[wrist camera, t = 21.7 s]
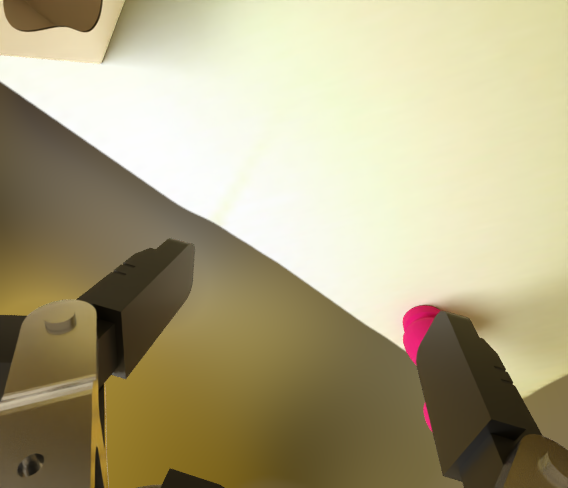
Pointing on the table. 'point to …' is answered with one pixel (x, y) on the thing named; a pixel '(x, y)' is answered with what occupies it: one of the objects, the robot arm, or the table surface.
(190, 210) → the table surface
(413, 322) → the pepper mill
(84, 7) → the gable box
